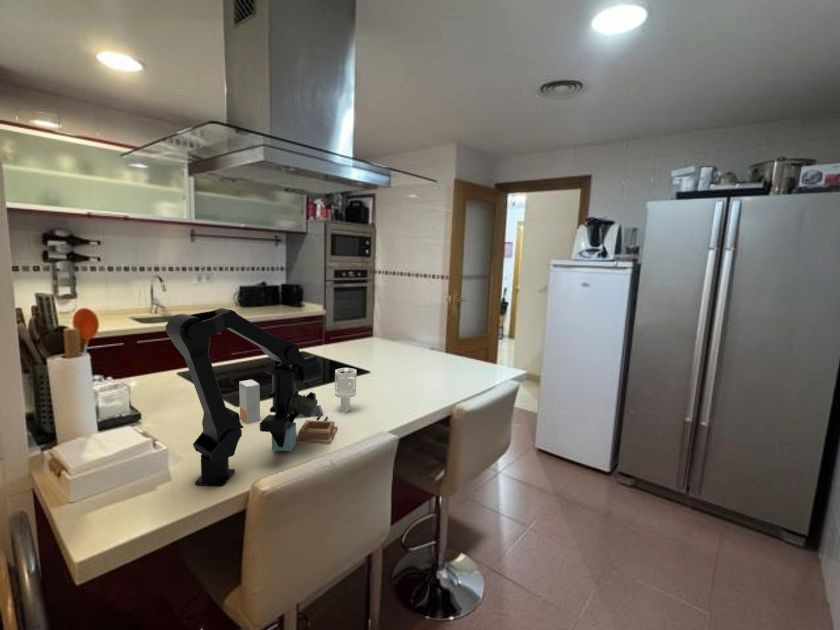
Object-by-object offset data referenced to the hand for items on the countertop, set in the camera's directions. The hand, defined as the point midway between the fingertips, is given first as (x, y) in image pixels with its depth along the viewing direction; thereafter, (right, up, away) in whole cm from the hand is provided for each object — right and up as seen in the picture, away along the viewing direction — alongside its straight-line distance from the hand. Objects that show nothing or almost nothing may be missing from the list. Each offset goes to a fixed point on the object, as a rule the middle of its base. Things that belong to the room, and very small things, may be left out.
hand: (284, 442), depth 110 cm
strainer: (+11, +2, +30) cm, 32 cm away
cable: (+5, +1, +22) cm, 22 cm away
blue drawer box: (0, -1, 0) cm, 1 cm away
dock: (+6, -1, +10) cm, 12 cm away
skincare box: (-17, +1, +19) cm, 26 cm away
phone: (-3, +2, +25) cm, 25 cm away
